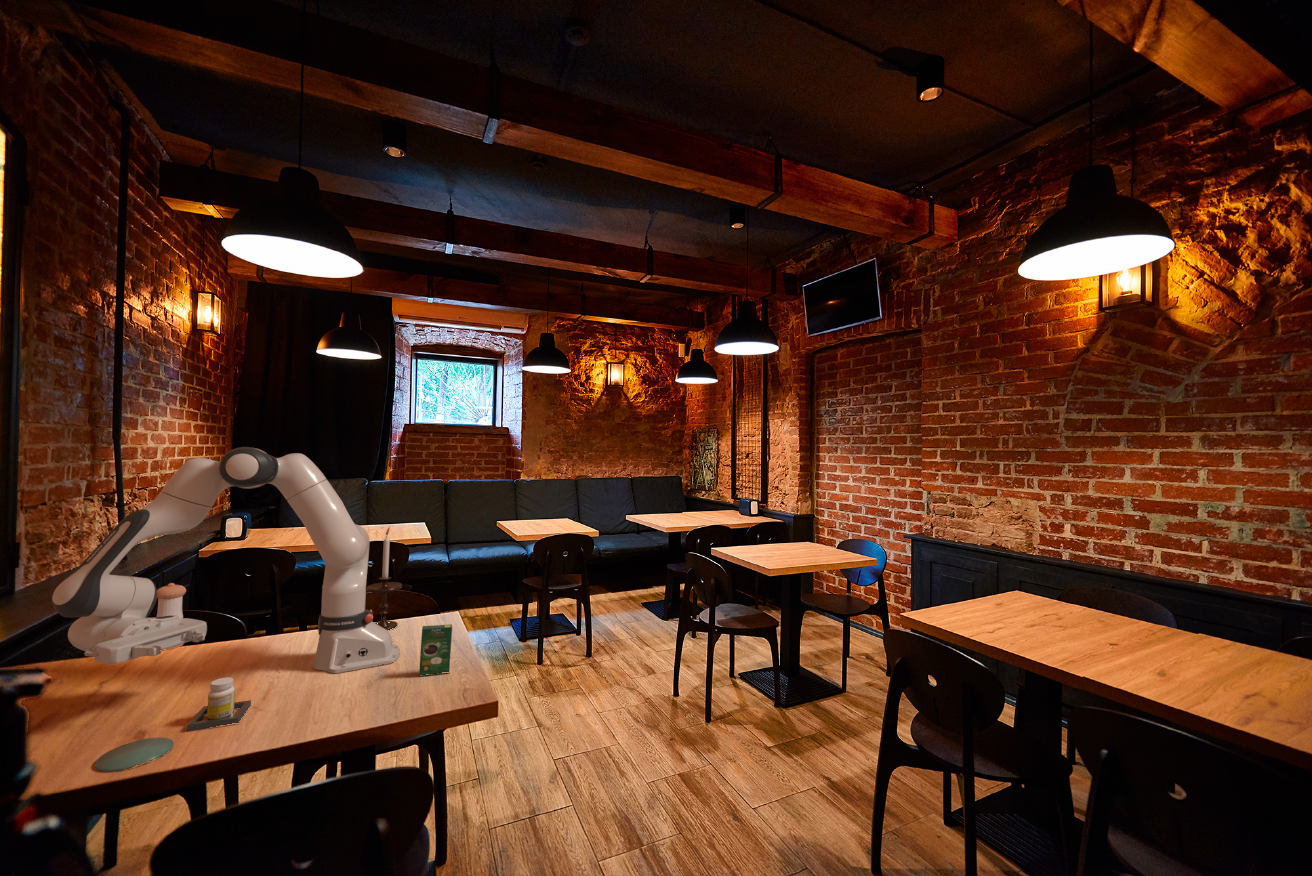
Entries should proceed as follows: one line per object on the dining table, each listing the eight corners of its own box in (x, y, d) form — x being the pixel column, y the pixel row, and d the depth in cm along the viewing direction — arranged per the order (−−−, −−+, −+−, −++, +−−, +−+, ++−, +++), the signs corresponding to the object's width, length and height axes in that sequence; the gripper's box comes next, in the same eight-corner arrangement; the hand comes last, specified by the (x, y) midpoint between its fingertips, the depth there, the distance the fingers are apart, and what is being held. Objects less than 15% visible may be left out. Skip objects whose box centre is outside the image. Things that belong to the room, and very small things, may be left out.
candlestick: (398, 620, 190) (402, 523, 191) (402, 629, 181) (406, 527, 182) (364, 625, 184) (368, 525, 186) (366, 634, 175) (370, 529, 176)
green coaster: (182, 736, 112) (182, 733, 112) (158, 764, 101) (158, 761, 101) (114, 746, 107) (114, 743, 107) (81, 777, 97) (81, 773, 97)
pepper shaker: (165, 651, 157) (168, 587, 157) (144, 649, 158) (148, 585, 158) (190, 643, 164) (193, 581, 164) (170, 641, 165) (174, 579, 166)
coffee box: (450, 669, 149) (452, 623, 149) (450, 673, 146) (452, 626, 147) (419, 673, 146) (421, 625, 147) (418, 677, 143) (420, 628, 144)
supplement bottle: (217, 713, 121) (219, 676, 122) (238, 713, 122) (240, 676, 122) (201, 724, 117) (203, 685, 117) (223, 723, 117) (225, 685, 117)
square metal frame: (250, 706, 125) (251, 700, 125) (238, 724, 117) (238, 717, 117) (203, 712, 122) (203, 706, 122) (186, 731, 113) (187, 725, 113)
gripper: (79, 638, 115) (128, 645, 112) (181, 612, 135) (225, 618, 132) (77, 668, 115) (126, 675, 112) (179, 637, 135) (223, 643, 132)
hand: (180, 644), depth 122 cm, fingers open, 8 cm apart
